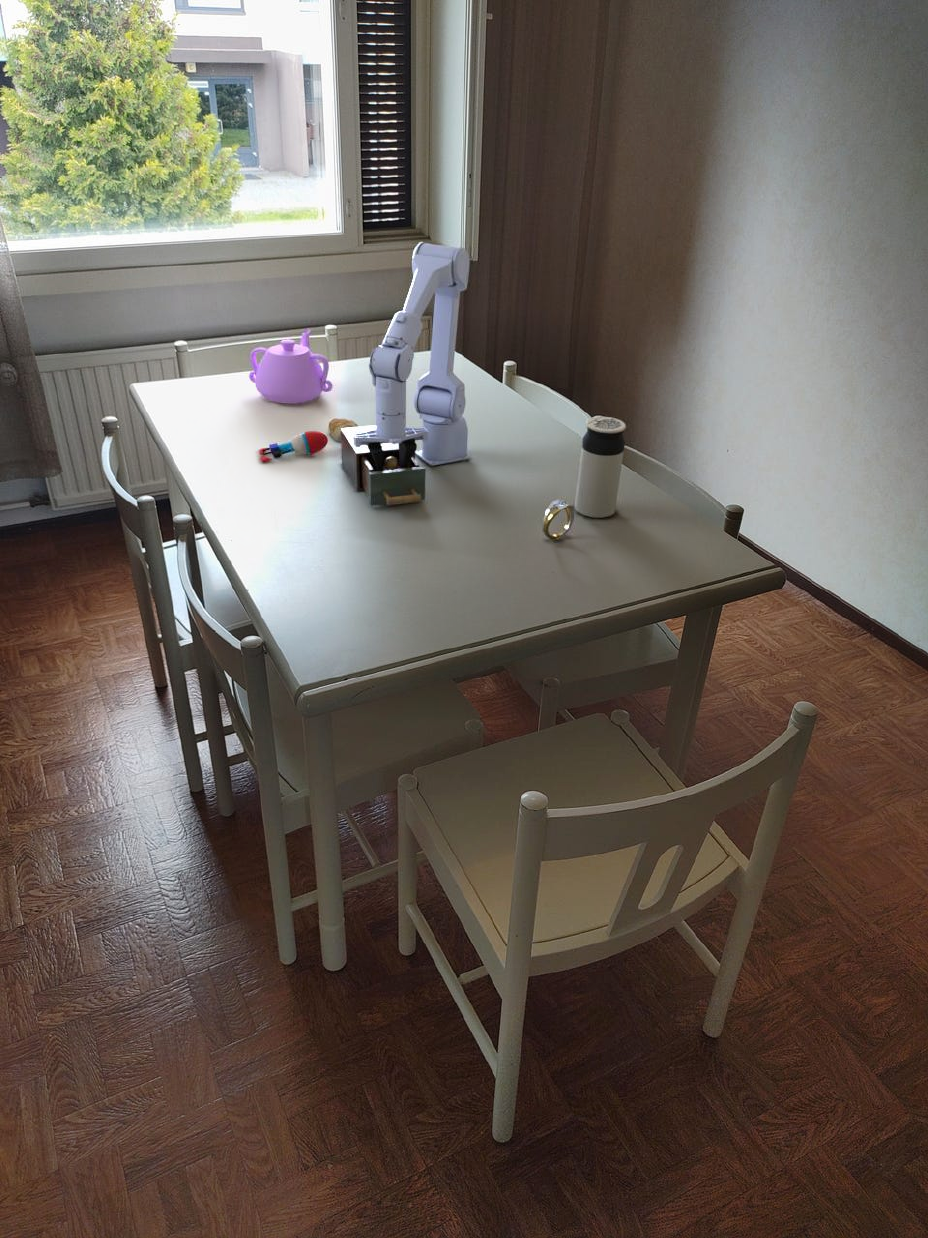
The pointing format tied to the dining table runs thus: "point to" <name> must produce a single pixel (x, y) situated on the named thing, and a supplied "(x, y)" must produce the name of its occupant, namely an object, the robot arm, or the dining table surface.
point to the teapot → (290, 372)
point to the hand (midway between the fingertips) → (391, 476)
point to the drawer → (392, 481)
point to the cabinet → (358, 452)
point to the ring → (547, 519)
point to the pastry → (339, 427)
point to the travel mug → (600, 467)
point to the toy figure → (297, 445)
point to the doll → (391, 464)
